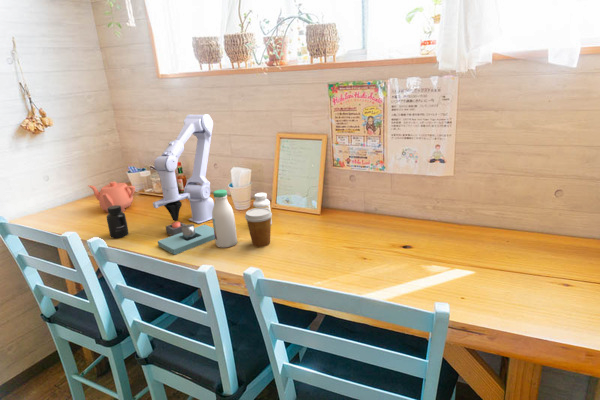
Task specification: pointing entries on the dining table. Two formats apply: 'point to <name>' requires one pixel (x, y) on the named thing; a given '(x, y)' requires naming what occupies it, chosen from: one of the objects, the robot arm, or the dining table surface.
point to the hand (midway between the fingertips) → (175, 220)
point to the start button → (176, 224)
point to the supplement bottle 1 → (117, 222)
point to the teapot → (114, 195)
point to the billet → (188, 232)
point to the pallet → (179, 245)
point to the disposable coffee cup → (259, 226)
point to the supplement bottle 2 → (261, 201)
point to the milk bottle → (223, 220)
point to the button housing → (174, 229)
